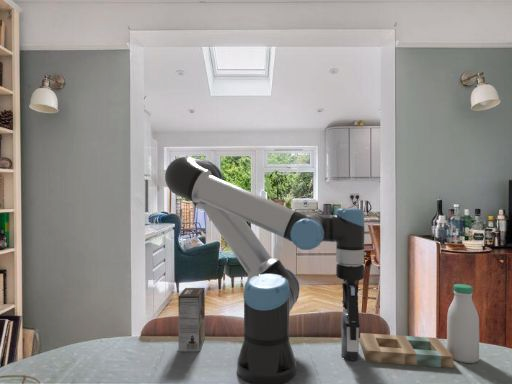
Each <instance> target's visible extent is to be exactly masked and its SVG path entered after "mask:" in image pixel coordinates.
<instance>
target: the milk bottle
mask: <svg viewBox="0 0 512 384" xmlns="http://www.w3.org/2000/svg"><path fill="white" fill-rule="evenodd" d="M473 289H474V288H473V286H471V285H469V284H464V283H463V284H462V283H456V284H453V294H454V296H453V299H452V301H451V303H450V305H449V307H448V310H447V314H446V315H447V318H446V321H447V322H446V349H447V350H448V351H449V352H450V353H451V355H452V356H453V361H454V360H455V361H457V362H460V363H464V364H475V363H477V362H479V361H480V318H479V314H478V313H479V312H478V310H477V308H476V306H475V303H474V301H473V298H472V297H473V296H472V295H474V294H473V291H474V290H473Z"/></svg>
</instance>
